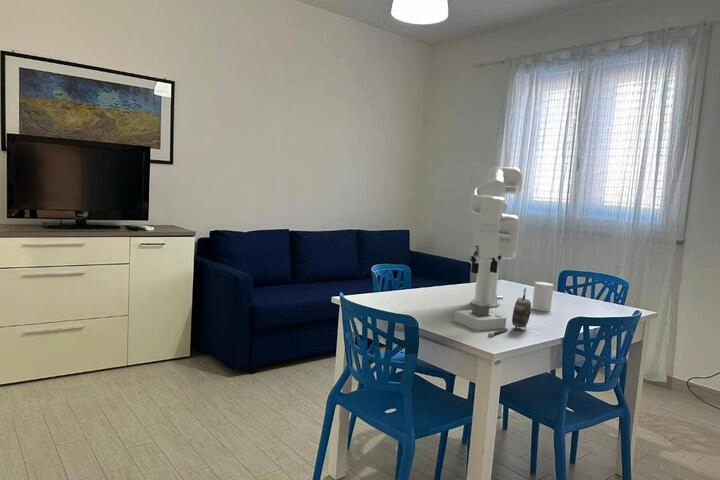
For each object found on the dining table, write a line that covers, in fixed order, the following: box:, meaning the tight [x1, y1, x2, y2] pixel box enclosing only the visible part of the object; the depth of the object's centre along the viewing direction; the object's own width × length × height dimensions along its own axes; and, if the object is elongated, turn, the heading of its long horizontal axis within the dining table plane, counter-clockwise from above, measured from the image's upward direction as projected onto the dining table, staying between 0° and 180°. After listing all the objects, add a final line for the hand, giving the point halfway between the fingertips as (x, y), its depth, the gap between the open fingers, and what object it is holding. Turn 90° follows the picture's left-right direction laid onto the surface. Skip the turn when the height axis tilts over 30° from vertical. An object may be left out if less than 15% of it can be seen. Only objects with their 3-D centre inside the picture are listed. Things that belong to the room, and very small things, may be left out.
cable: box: [487, 327, 509, 338], centre depth 192 cm, size 14×1×1 cm, turn 140°
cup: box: [531, 281, 555, 312], centre depth 241 cm, size 8×8×12 cm
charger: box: [471, 303, 490, 317], centre depth 203 cm, size 4×4×8 cm
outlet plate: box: [453, 309, 507, 331], centre depth 204 cm, size 14×14×4 cm
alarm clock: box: [511, 287, 532, 332], centre depth 201 cm, size 11×5×16 cm, turn 150°
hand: (483, 272), depth 203 cm, fingers open, 9 cm apart
